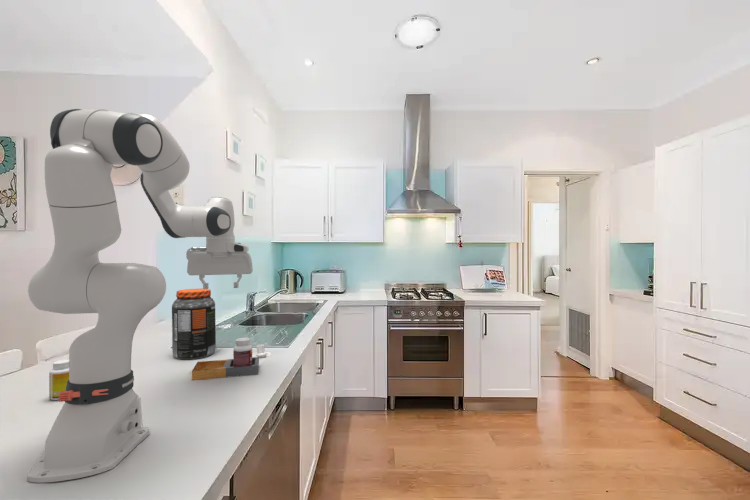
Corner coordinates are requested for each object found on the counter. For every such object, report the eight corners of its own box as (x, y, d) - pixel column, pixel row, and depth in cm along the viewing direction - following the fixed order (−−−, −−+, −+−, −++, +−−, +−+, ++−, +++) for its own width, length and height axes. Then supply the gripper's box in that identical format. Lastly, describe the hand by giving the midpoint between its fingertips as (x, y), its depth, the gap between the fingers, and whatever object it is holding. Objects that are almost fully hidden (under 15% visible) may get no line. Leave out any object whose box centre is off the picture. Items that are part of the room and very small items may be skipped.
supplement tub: (193, 348, 160) (193, 287, 160) (224, 351, 155) (224, 288, 155) (162, 358, 145) (162, 291, 145) (194, 362, 140) (194, 292, 140)
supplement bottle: (79, 395, 108) (79, 359, 108) (56, 402, 103) (56, 365, 103) (67, 392, 111) (67, 357, 111) (44, 399, 106) (44, 362, 106)
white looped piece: (264, 359, 145) (264, 349, 145) (245, 358, 146) (245, 348, 146) (274, 353, 153) (274, 343, 153) (256, 352, 155) (256, 342, 155)
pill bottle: (254, 372, 129) (254, 339, 129) (235, 375, 125) (235, 342, 125) (249, 367, 134) (249, 336, 134) (231, 370, 131) (231, 338, 131)
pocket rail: (258, 374, 126) (258, 365, 126) (191, 380, 121) (191, 371, 121) (259, 365, 136) (259, 357, 136) (197, 370, 131) (197, 361, 131)
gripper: (184, 247, 119) (185, 290, 120) (252, 247, 125) (252, 288, 126) (188, 246, 125) (188, 288, 126) (252, 246, 131) (252, 285, 132)
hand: (221, 288), depth 126 cm, fingers open, 8 cm apart
